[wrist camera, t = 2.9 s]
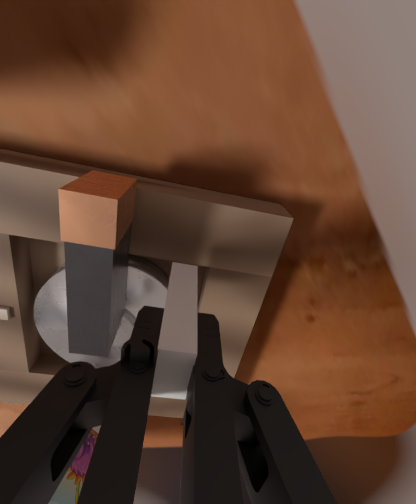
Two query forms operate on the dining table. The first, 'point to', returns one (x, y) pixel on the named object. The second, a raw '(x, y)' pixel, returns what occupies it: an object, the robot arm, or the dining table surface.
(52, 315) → the dial
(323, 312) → the dining table surface
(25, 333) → the panel
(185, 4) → the dining table surface
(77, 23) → the dining table surface
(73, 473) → the milk bottle
